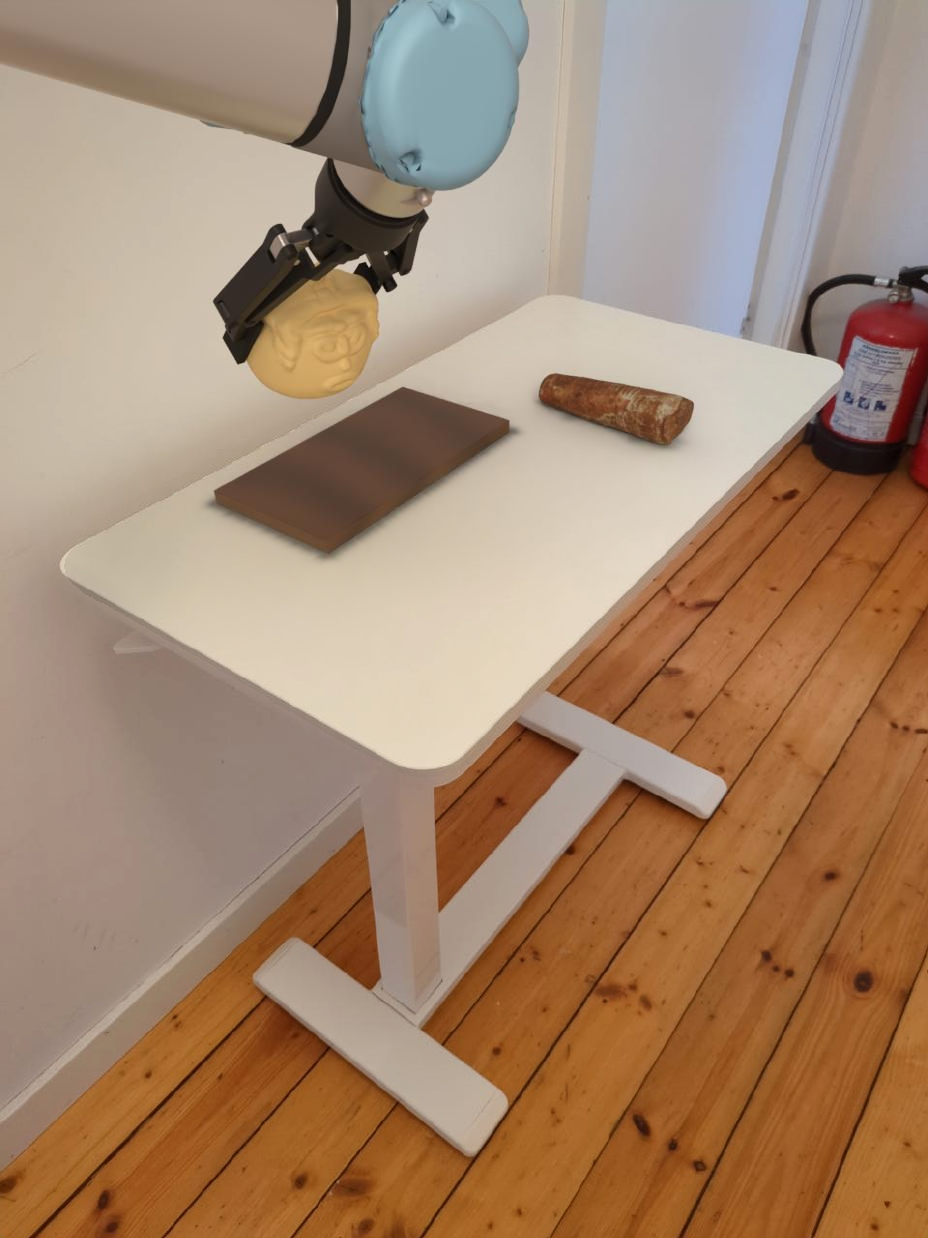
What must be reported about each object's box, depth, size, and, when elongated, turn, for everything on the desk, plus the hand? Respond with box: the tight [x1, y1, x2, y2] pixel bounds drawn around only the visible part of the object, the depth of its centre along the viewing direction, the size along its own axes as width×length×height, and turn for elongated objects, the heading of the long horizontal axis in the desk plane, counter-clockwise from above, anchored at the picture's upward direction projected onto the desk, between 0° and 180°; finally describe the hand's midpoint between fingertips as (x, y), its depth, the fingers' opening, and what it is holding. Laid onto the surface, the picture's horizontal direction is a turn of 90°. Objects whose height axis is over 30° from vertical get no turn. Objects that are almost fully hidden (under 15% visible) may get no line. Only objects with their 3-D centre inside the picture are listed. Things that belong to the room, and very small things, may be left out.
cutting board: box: [213, 386, 511, 554], centre depth 97 cm, size 30×16×2 cm, turn 143°
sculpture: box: [245, 261, 381, 400], centre depth 80 cm, size 12×12×11 cm
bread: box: [538, 372, 695, 445], centre depth 103 cm, size 6×19×6 cm, turn 48°
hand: (291, 331), depth 82 cm, fingers closed on sculpture, 11 cm apart
